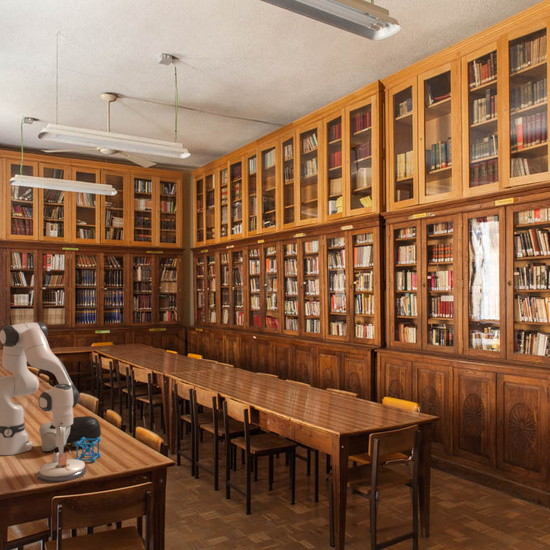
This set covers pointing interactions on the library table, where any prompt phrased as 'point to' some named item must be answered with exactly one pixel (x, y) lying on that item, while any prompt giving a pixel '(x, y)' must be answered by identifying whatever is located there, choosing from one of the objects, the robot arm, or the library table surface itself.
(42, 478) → the turntable base
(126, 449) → the library table surface
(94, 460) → the molecular structure
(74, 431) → the head bust
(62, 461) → the grandmother figurine
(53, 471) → the turntable
